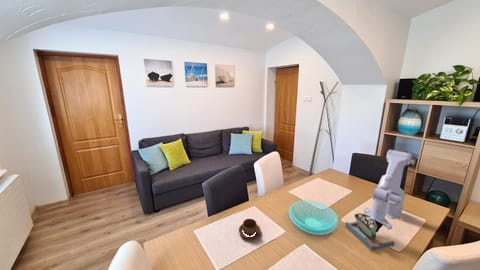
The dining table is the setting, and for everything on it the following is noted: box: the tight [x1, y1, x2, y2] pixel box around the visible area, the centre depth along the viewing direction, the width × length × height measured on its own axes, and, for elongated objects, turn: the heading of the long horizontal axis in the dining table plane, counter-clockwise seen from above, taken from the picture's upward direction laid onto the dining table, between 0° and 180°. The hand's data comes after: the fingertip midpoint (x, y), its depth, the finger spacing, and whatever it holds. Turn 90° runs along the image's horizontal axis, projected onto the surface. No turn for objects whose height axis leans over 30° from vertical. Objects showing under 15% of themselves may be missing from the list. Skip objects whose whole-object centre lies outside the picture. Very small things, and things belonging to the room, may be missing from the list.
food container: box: [353, 212, 377, 243], centre depth 100 cm, size 12×6×10 cm, turn 6°
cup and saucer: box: [238, 218, 262, 240], centre depth 103 cm, size 12×12×6 cm
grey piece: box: [344, 221, 395, 252], centre depth 101 cm, size 14×17×4 cm
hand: (374, 231), depth 102 cm, fingers closed
